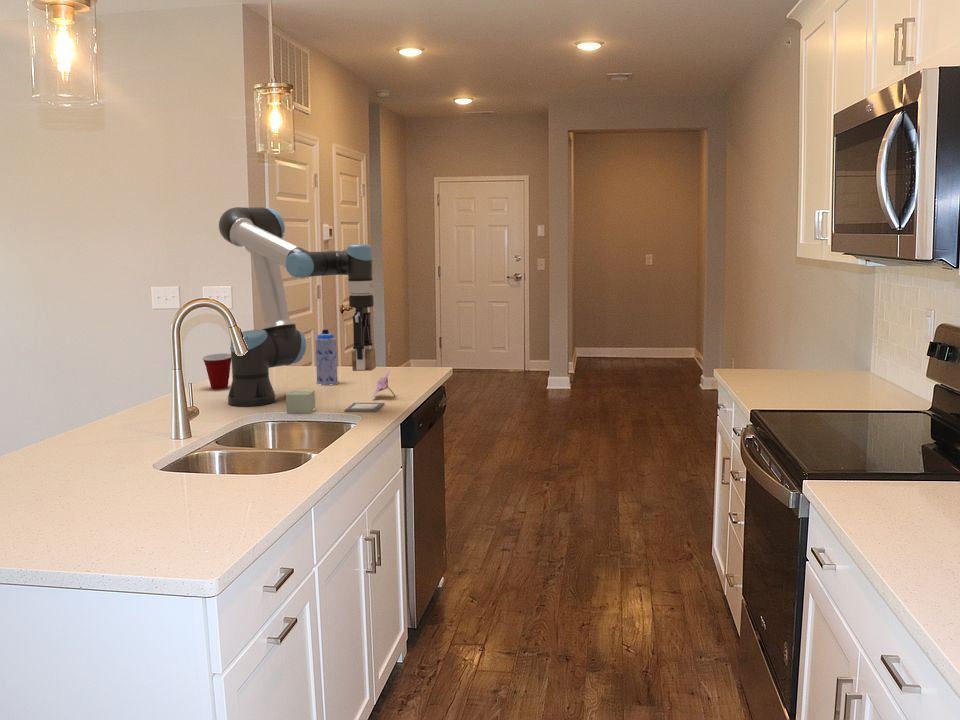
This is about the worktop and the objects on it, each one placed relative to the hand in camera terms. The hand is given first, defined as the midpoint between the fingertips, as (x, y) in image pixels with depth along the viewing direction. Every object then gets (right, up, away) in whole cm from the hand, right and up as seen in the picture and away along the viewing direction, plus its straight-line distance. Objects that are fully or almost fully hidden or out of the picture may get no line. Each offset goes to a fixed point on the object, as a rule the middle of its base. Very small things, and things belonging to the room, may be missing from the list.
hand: (363, 367), depth 279 cm
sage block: (-19, -14, -1) cm, 24 cm away
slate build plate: (0, -13, +2) cm, 13 cm away
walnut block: (0, 0, 0) cm, 0 cm away
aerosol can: (-20, -6, +49) cm, 53 cm away
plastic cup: (-58, -8, +42) cm, 72 cm away
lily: (+4, -10, +20) cm, 23 cm away
